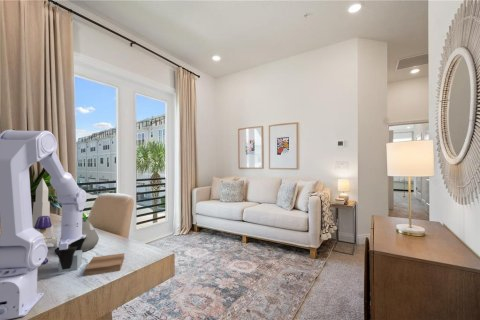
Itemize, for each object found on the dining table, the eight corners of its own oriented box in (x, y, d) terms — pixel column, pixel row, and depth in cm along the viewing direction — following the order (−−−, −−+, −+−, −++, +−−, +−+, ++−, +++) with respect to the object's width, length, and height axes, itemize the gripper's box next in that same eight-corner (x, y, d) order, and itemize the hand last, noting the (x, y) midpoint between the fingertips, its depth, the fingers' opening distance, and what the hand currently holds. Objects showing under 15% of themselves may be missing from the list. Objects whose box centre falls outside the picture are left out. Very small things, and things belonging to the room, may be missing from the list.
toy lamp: (49, 259, 81) (50, 214, 81) (51, 262, 78) (53, 216, 78) (31, 263, 77) (32, 216, 77) (33, 267, 74) (35, 218, 75)
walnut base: (120, 272, 72) (120, 264, 72) (84, 277, 69) (84, 269, 69) (124, 260, 81) (124, 253, 82) (92, 264, 78) (93, 257, 78)
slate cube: (77, 270, 72) (77, 255, 73) (58, 272, 71) (59, 257, 71) (81, 264, 77) (82, 249, 77) (64, 266, 75) (65, 251, 75)
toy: (101, 249, 91) (102, 213, 91) (60, 258, 81) (61, 218, 82) (94, 240, 101) (95, 208, 102) (57, 248, 92) (58, 212, 93)
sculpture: (39, 253, 86) (41, 177, 87) (23, 251, 88) (25, 177, 89) (56, 246, 93) (58, 177, 94) (41, 245, 95) (43, 176, 96)
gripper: (79, 228, 69) (77, 271, 69) (91, 218, 83) (90, 254, 82) (51, 230, 66) (50, 275, 66) (69, 219, 80) (67, 256, 80)
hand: (70, 263), depth 74 cm, fingers open, 7 cm apart
